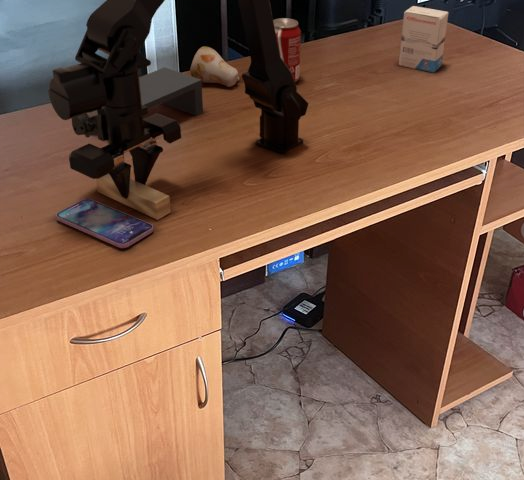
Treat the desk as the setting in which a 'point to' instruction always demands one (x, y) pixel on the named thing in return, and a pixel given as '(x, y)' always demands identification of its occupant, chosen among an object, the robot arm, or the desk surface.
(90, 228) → the smartphone
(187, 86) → the small grey bench
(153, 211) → the stick
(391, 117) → the desk surface
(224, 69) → the cream rounded tapered piece
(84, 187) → the desk surface
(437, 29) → the ink box
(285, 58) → the soda can
